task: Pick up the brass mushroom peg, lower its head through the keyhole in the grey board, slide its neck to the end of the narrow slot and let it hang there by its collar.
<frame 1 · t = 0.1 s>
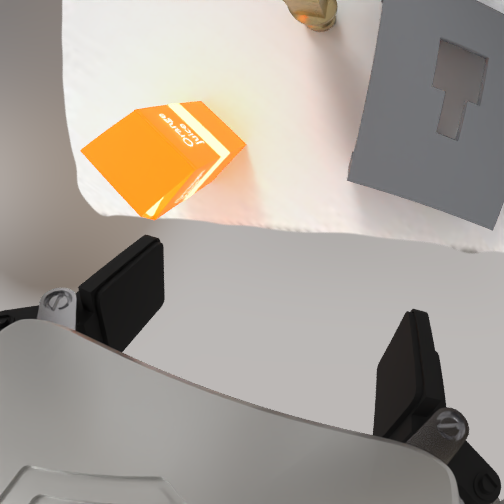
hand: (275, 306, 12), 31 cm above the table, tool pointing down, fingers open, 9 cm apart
keyhole board: (439, 97, 30), on the table
orange juice: (206, 141, 42), on the table
brass peg: (319, 17, 30), on the table
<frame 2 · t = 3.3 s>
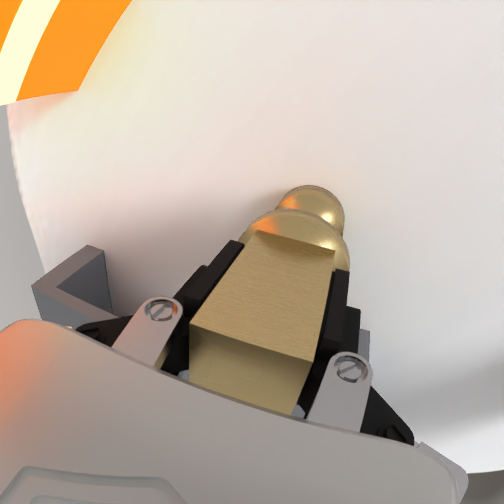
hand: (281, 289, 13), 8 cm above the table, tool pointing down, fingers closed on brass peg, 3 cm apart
keyhole board: (204, 364, 28), on the table
orange juice: (80, 22, 17), on the table
brass peg: (310, 217, 19), on the table, touching gripper
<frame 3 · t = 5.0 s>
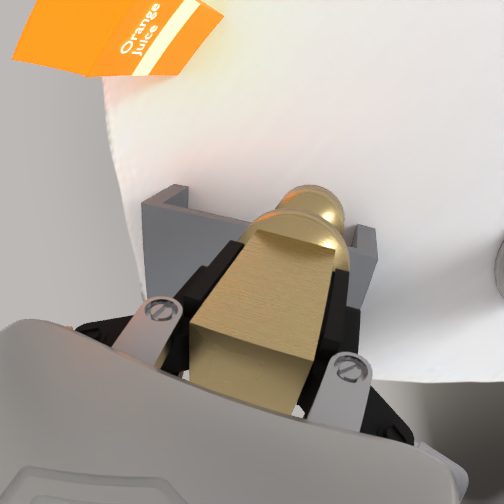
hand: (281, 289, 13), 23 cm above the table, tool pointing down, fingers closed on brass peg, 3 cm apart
keyhole board: (259, 271, 40), on the table
orange juice: (178, 29, 30), on the table
brass peg: (310, 217, 19), point 15 cm above the table, touching gripper
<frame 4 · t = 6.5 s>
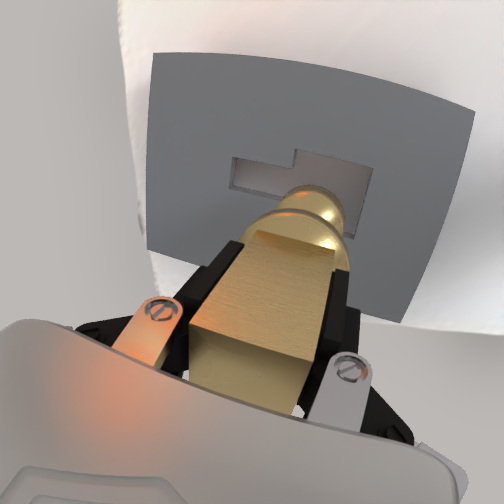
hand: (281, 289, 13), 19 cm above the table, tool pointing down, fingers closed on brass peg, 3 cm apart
keyhole board: (302, 165, 29), on the table
brass peg: (310, 217, 19), point 11 cm above the table, touching gripper
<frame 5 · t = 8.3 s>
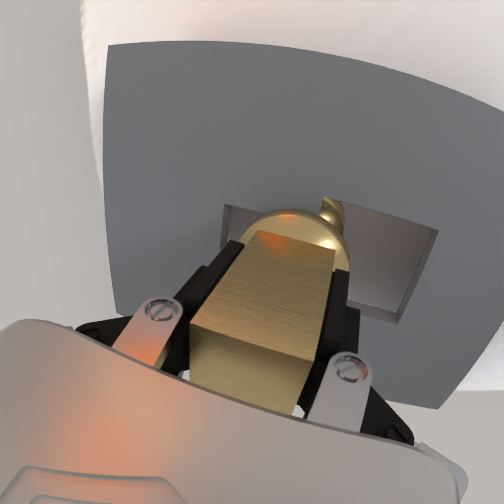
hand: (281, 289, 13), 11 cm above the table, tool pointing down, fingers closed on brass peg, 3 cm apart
keyhole board: (321, 203, 21), on the table
brass peg: (311, 217, 19), point 3 cm above the table, touching gripper
when the fingers open (9 cm above the table, at t = 9.8 s): brass peg stays where it is, resting on keyhole board.
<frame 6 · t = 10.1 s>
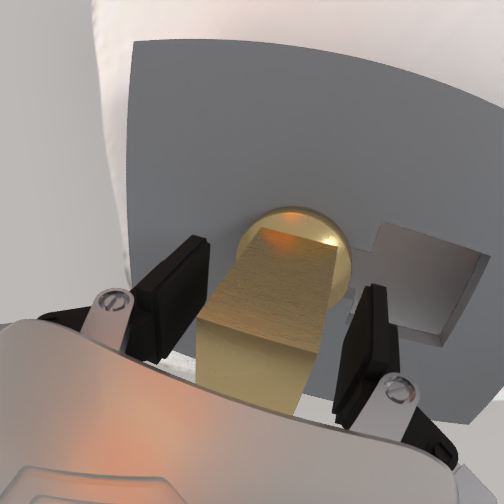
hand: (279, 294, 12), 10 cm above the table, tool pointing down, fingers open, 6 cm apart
keyhole board: (359, 220, 20), on the table
brass peg: (312, 216, 19), point 1 cm above the table, touching keyhole board
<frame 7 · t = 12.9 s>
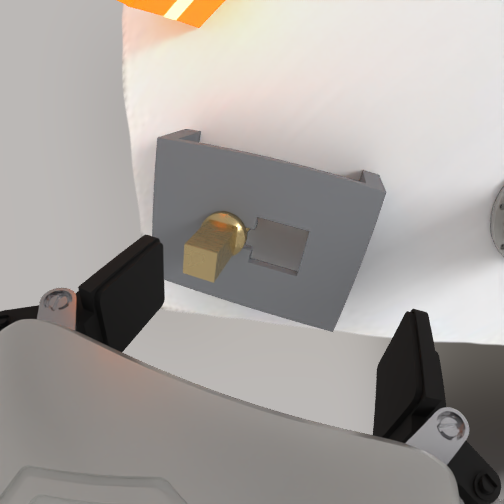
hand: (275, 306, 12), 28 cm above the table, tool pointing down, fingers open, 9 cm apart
keyhole board: (265, 216, 41), on the table
brass peg: (239, 214, 40), point 1 cm above the table, touching keyhole board
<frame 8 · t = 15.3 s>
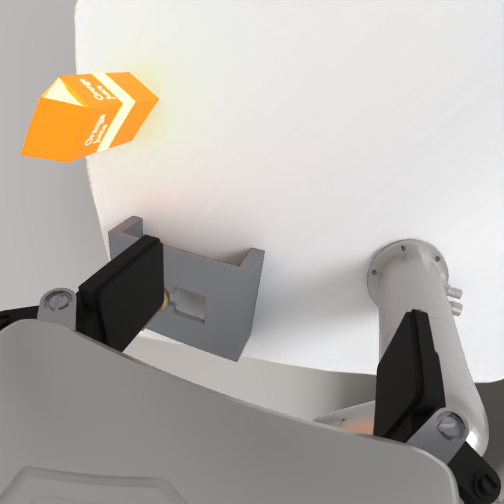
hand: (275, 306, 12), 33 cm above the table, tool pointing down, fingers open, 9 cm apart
keyhole board: (191, 277, 56), on the table
orange juice: (130, 106, 45), on the table
brass peg: (172, 277, 56), point 1 cm above the table, touching keyhole board
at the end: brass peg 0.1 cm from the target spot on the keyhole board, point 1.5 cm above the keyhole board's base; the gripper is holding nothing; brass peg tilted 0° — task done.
